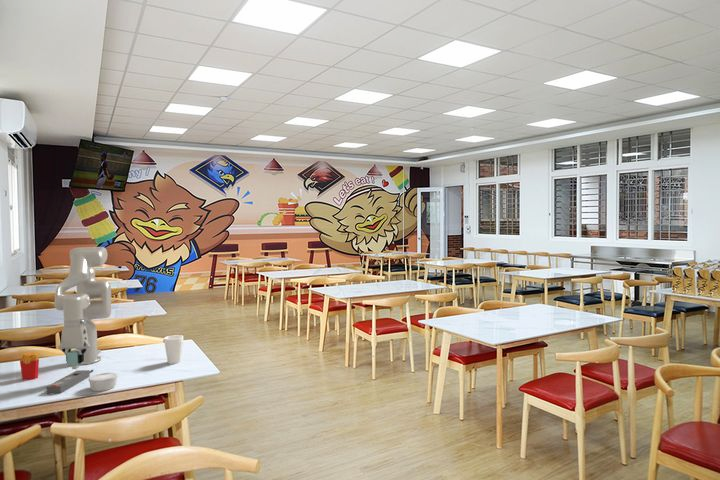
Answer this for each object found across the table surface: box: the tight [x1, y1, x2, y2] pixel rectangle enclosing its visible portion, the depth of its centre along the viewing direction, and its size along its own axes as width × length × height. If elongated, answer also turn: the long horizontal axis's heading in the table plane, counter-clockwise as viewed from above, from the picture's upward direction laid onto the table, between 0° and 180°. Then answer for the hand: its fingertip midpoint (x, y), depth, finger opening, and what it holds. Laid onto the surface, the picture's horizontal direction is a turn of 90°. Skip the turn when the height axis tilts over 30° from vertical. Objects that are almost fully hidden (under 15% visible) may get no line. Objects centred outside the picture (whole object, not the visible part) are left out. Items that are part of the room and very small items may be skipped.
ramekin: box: [88, 372, 118, 392], centre depth 208 cm, size 11×11×5 cm
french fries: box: [19, 351, 40, 381], centre depth 222 cm, size 8×4×12 cm, turn 86°
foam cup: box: [163, 334, 184, 365], centre depth 245 cm, size 10×9×13 cm
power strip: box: [45, 369, 95, 395], centre depth 217 cm, size 30×6×4 cm, turn 1°
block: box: [66, 349, 83, 370], centre depth 218 cm, size 4×4×8 cm
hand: (75, 362), depth 218 cm, fingers closed on block, 4 cm apart
